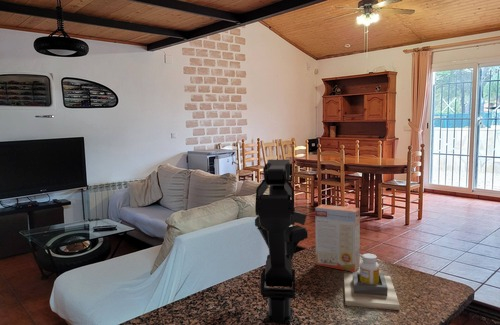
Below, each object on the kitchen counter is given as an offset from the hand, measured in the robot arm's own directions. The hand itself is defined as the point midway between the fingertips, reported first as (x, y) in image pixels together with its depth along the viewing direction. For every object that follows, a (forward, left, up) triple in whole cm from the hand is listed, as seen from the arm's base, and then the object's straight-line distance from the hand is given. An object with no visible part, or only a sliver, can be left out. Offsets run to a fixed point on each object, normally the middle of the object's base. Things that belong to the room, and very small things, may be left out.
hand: (280, 255), depth 108 cm
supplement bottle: (+6, -25, -11) cm, 28 cm away
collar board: (+6, -25, -12) cm, 29 cm away
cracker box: (+24, -16, -12) cm, 31 cm away
